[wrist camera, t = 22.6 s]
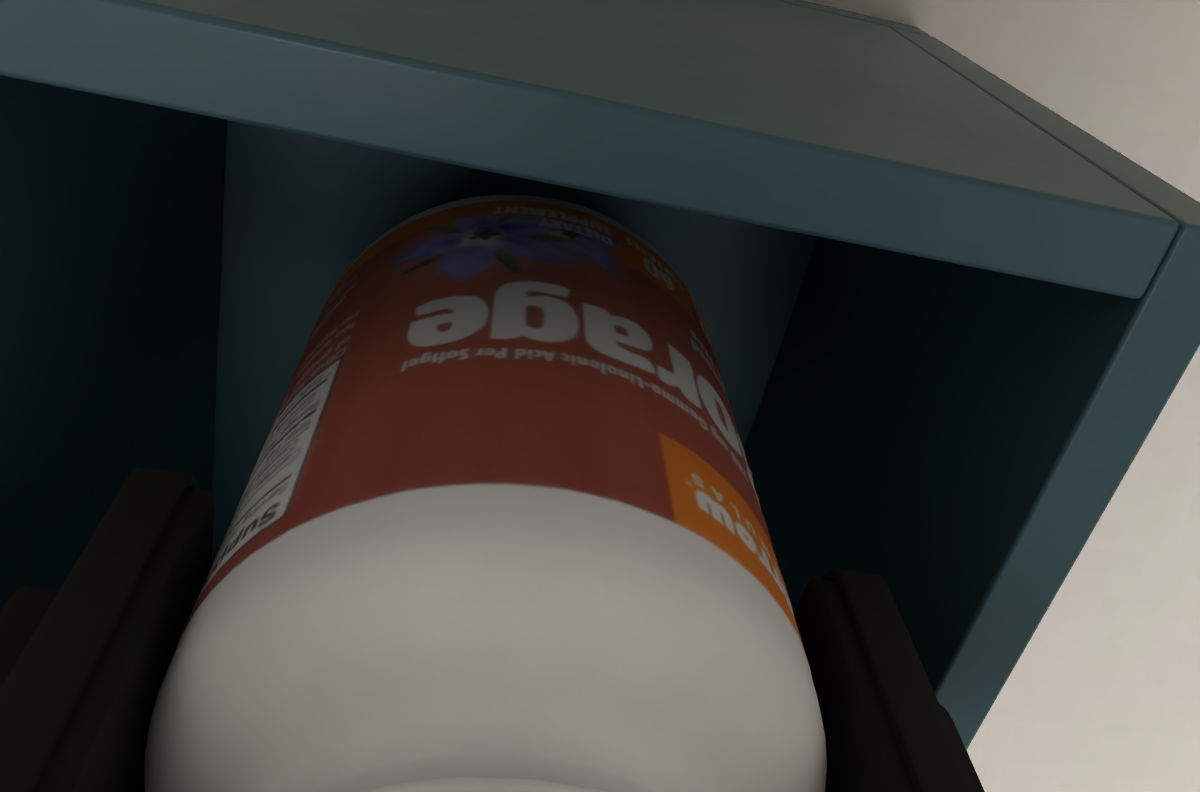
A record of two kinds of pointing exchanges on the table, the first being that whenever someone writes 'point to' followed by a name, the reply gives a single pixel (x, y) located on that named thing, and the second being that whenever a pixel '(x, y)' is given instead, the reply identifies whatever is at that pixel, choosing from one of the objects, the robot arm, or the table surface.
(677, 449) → the pill bottle
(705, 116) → the teal open container
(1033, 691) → the table surface
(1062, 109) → the table surface
